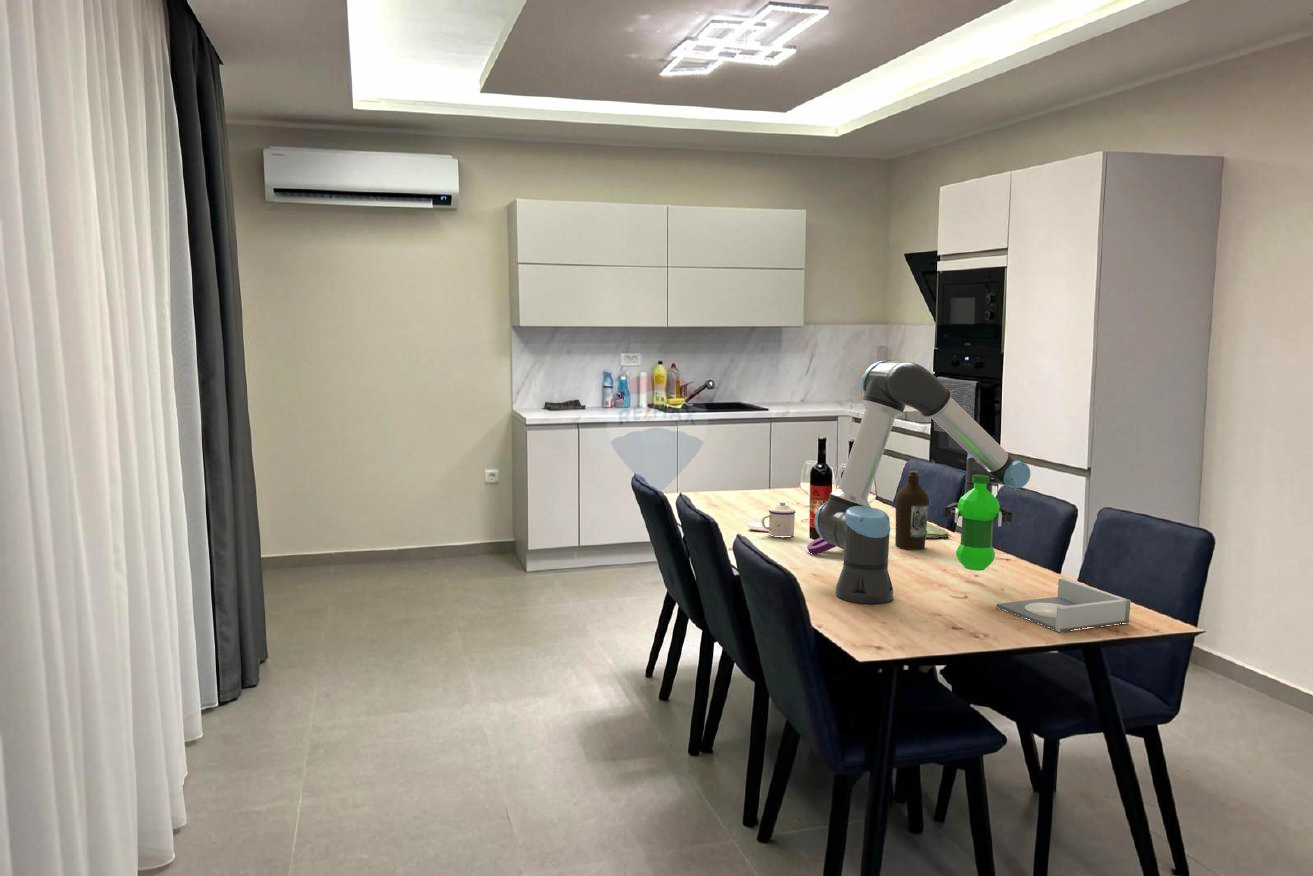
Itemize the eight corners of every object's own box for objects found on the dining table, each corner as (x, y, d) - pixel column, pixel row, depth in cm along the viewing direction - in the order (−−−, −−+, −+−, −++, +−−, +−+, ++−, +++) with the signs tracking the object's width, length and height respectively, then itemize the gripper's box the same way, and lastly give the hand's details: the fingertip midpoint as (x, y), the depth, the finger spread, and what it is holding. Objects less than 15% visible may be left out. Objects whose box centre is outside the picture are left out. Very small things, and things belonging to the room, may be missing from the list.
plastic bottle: (997, 574, 255) (1004, 479, 252) (955, 571, 257) (962, 477, 254) (992, 565, 264) (999, 474, 261) (952, 562, 266) (958, 471, 263)
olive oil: (886, 544, 323) (890, 470, 320) (911, 542, 328) (915, 468, 325) (908, 551, 314) (911, 475, 311) (933, 548, 319) (937, 473, 316)
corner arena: (1060, 633, 233) (1061, 608, 232) (996, 607, 253) (997, 585, 252) (1128, 623, 241) (1130, 600, 240) (1061, 599, 261) (1063, 578, 261)
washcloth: (917, 541, 331) (917, 532, 331) (892, 530, 348) (893, 521, 348) (951, 540, 334) (952, 530, 334) (926, 529, 351) (926, 520, 351)
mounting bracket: (820, 575, 306) (873, 551, 305) (809, 551, 305) (862, 527, 304) (815, 567, 316) (866, 544, 315) (804, 544, 315) (855, 521, 314)
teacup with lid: (787, 532, 340) (789, 499, 339) (799, 537, 331) (800, 504, 330) (756, 533, 336) (757, 500, 335) (766, 539, 328) (767, 505, 326)
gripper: (1019, 521, 273) (1023, 537, 252) (935, 514, 280) (932, 529, 259) (1021, 495, 272) (1025, 509, 251) (937, 489, 279) (933, 501, 258)
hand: (978, 519), depth 255 cm, fingers closed on plastic bottle, 10 cm apart
